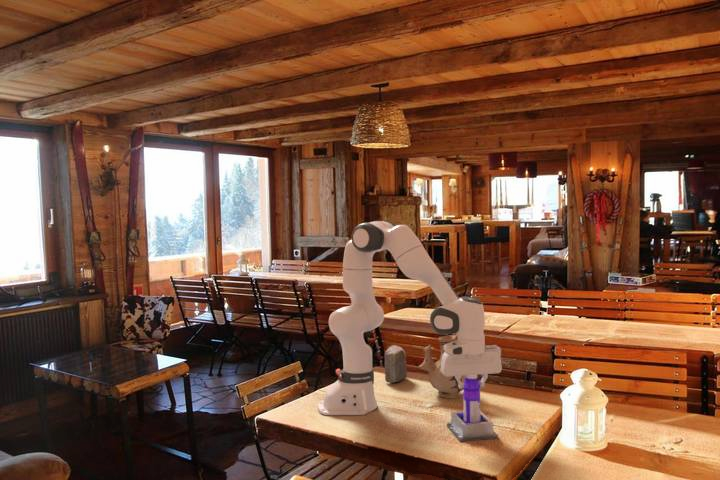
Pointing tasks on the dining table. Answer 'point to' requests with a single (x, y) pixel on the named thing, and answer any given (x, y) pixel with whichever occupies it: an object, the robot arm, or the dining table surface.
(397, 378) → the geological specimen
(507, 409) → the dining table surface
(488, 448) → the dining table surface
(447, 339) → the ceramic vessel
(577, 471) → the dining table surface
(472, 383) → the bottle
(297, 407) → the dining table surface
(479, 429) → the bottle holder
